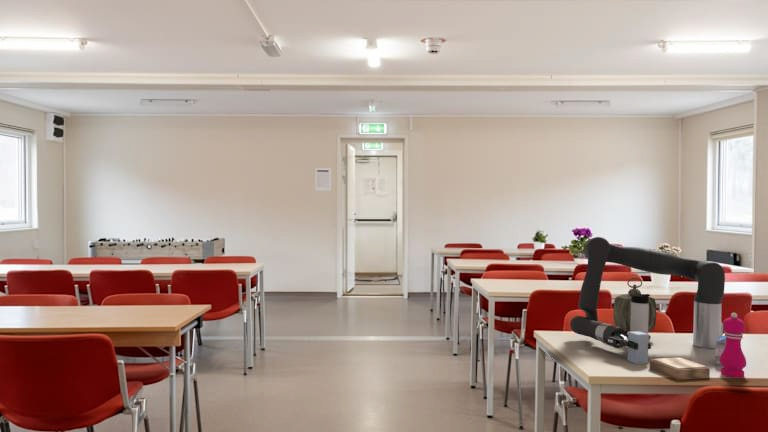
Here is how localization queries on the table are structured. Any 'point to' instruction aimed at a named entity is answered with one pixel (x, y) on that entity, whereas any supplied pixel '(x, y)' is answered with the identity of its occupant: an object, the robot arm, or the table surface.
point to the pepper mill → (733, 348)
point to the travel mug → (639, 313)
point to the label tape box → (719, 349)
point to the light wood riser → (679, 368)
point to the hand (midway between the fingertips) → (643, 346)
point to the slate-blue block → (642, 352)
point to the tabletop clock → (624, 309)
